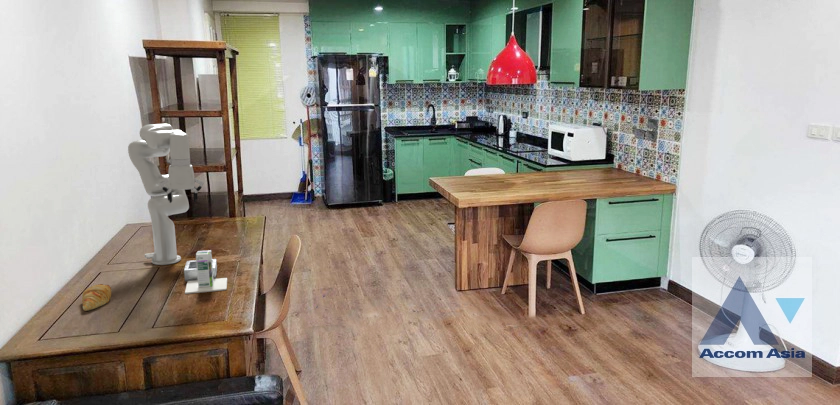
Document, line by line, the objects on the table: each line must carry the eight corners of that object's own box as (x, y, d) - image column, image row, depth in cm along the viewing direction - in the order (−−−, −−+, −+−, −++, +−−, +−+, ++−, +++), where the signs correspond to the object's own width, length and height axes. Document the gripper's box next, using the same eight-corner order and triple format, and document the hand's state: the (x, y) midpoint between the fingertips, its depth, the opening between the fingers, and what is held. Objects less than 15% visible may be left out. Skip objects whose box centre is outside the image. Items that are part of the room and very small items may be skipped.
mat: (184, 293, 227) (184, 292, 227) (187, 282, 239) (187, 281, 239) (226, 290, 232) (226, 288, 231) (227, 279, 244) (227, 277, 243)
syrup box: (198, 287, 232) (195, 254, 228) (199, 282, 237) (197, 250, 234) (212, 286, 233) (210, 253, 230) (213, 281, 239) (211, 249, 235)
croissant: (95, 321, 209) (103, 303, 208) (67, 311, 206) (76, 292, 205) (115, 298, 229) (123, 281, 228) (90, 288, 227) (98, 271, 226)
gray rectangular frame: (185, 281, 240) (184, 270, 239) (188, 266, 258) (188, 256, 257) (215, 278, 244) (215, 267, 243) (217, 264, 261) (216, 254, 260)
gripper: (156, 164, 229) (159, 204, 233) (202, 163, 234) (204, 203, 238) (159, 160, 236) (162, 200, 240) (203, 160, 241) (205, 198, 245)
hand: (183, 201), depth 239 cm, fingers open, 9 cm apart
